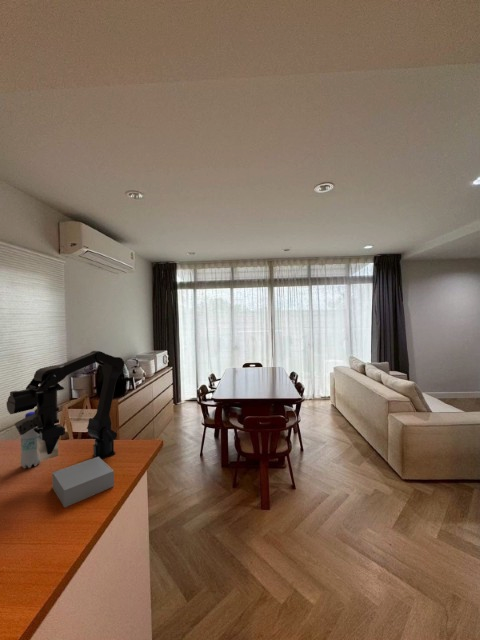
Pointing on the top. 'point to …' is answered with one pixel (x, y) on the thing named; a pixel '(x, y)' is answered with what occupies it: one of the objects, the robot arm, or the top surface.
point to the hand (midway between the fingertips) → (47, 451)
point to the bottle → (29, 447)
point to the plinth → (82, 480)
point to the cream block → (43, 452)
